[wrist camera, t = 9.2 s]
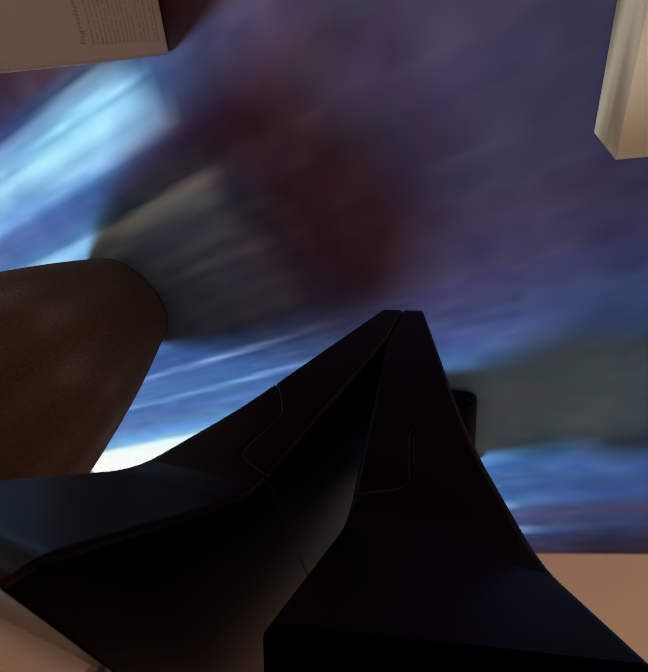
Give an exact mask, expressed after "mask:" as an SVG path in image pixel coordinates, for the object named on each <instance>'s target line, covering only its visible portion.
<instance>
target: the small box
mask: <svg viewBox="0 0 648 672" xmlns="http://www.w3.org/2000/svg"><path fill="white" fill-rule="evenodd" d="M167 53H168V48H167V43H166V38H165V33H164V28H163V23H162V17H161V12H160V7H159V2H158V0H0V73H8V72H16V71H27V70H36V69H46V68H58V67H66V66H76V65H85V64H93V63H102V62H111V61H119V60H128V59H136V58H143V57H151V56H159V55H165V54H167Z"/></svg>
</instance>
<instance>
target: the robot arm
mask: <svg viewBox="0 0 648 672" xmlns="http://www.w3.org/2000/svg"><path fill="white" fill-rule="evenodd" d="M466 399H468V400H471V401H467V400H466ZM476 408H477V397H476V395H475V394H473V393H471V392H465V391H455V390H451V388H450V385H449V382H448V380H447V377H446V374H445V371H444V368H443V366H442V363H441V360H440V357H439V355H438V352H437V349H436V346H435V344H434V341H433V338H432V335H431V333H430V330H429V327H428V324H427V321H426V319H425V316H424V313H423V312H422V311H409V310H406V311H403V313H402V311H400V310H383V311H381V312H380V313H378V314H377V315H376V316H374V317H373V318H371V319H370V320H368V321H367V322H365V323H364V324H363V325H361V326H360V327H358V328H357V329H355V330H354V331H352V332H351V333H350V334H348V335H347V336H345V337H344V338H342V339H341V340H339V341H338V342H337V343H335V344H334V345H332V346H331V347H329V348H328V349H326V350H325V351H324V352H322V353H321V354H319V355H318V356H316V357H315V358H313V359H312V360H310V361H309V362H308V363H306V364H305V365H303V366H302V367H300V368H299V369H297V370H296V371H295V372H293V373H292V374H290V375H289V376H287V377H286V378H284V379H283V380H282V381H280V382H279V383H277V386H273V387H271V388H270V389H268V390H267V391H265V392H264V393H263V394H261V395H260V396H258V397H257V398H255V399H254V400H252V401H251V402H249V403H248V404H246V405H244V406H243V407H241V408H240V409H238V410H237V411H235V412H233V413H232V414H230V415H228V416H227V417H225V418H223V419H222V420H220V421H218V422H217V423H215V424H213V425H211V426H210V427H208V428H206V429H204V430H203V431H201V432H199V433H198V434H196V435H194V436H192V437H191V438H189V439H187V440H185V441H184V442H182V443H180V444H179V445H177V446H175V447H173V448H172V449H170V450H168V451H166V452H165V453H163V454H161V455H159V456H157V457H156V458H154V459H152V460H150V461H147V462H145V463H143V464H140V465H137V466H134V467H131V468H127V469H122V470H117V471H110V472H98V473H86V474H74V475H62V476H50V477H38V478H26V479H14V480H2V481H0V672H648V663H646V662H645V661H644V660H643V659H642V658H641V657H640V656H639V655H638V654H637V653H636V652H634V651H633V650H632V649H631V648H630V647H629V646H628V645H627V644H626V643H625V642H624V641H622V640H621V639H620V638H619V637H618V636H617V635H616V634H615V633H614V632H613V631H612V630H610V629H609V628H608V627H607V626H606V625H605V624H604V623H603V622H602V621H601V620H599V619H598V618H597V617H596V616H595V615H594V614H593V613H592V612H591V611H590V610H589V609H588V608H586V607H585V606H584V605H583V604H582V603H581V602H580V601H579V600H578V599H577V598H576V597H574V596H573V595H572V594H571V593H570V592H569V591H568V590H567V589H566V588H565V587H564V586H563V585H561V584H560V583H559V582H558V581H557V580H556V579H555V578H554V577H553V576H552V574H551V573H550V572H549V571H548V570H547V569H546V568H545V566H544V565H543V564H542V562H541V561H540V560H539V558H538V557H537V555H536V554H535V552H534V551H533V549H532V548H531V546H530V545H529V543H528V541H527V540H526V538H525V537H524V535H523V533H522V532H521V530H520V528H519V526H518V525H517V523H516V521H515V519H514V518H513V516H512V514H511V512H510V511H509V509H508V507H507V505H506V504H505V502H504V500H503V498H502V497H501V495H500V493H499V491H498V490H497V488H496V486H495V484H494V483H493V481H492V479H491V477H490V476H489V474H488V472H487V470H486V469H485V467H484V465H483V463H482V461H481V459H480V457H479V455H478V453H477V451H476V450H475V432H476Z"/></svg>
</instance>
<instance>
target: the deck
mask: <svg viewBox="0 0 648 672" xmlns="http://www.w3.org/2000/svg"><path fill="white" fill-rule="evenodd" d="M594 133H595V134H596V135H597V137H598V138H599V139H600V140H601V142H602V143H603V144H604V145H605V147H606V148H607V149H608V150H609V152H610V153H611V154H612V156H613V157H614V158H615V159H616V160H617V159H627V158H638V157H648V0H617V5H616V11H615V17H614V23H613V28H612V34H611V40H610V45H609V51H608V57H607V63H606V68H605V74H604V80H603V85H602V91H601V97H600V103H599V108H598V114H597V120H596V125H595V131H594Z"/></svg>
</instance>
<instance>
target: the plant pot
mask: <svg viewBox="0 0 648 672" xmlns="http://www.w3.org/2000/svg"><path fill="white" fill-rule="evenodd" d="M166 329H167V318H166V313H165V310H164V307H163V305H162V303H161V301H160V299H159V297H158V296H157V294H156V293H155V291H154V290H153V289H152V287H151V286H150V285H149V284H148V283H147V282H146V281H145V280H144V279H143V278H142V277H141V276H140V275H139V274H137V273H136V272H135V271H133V270H132V269H130V268H129V267H127V266H126V265H124V264H121V263H119V262H117V261H114V260H110V259H88V260H78V261H69V262H60V263H52V264H45V265H39V266H32V267H25V268H20V269H14V270H8V271H3V272H0V481H2V480H14V479H26V478H38V477H50V476H62V475H74V474H86V473H90V471H91V470H92V468H93V467H94V465H95V464H96V462H97V461H98V459H99V458H100V456H101V454H102V453H103V451H104V450H105V448H106V447H107V445H108V443H109V442H110V440H111V438H112V437H113V435H114V433H115V432H116V430H117V428H118V427H119V425H120V423H121V422H122V420H123V418H124V416H125V415H126V413H127V411H128V409H129V408H130V406H131V404H132V402H133V400H134V399H135V397H136V395H137V393H138V391H139V389H140V387H141V385H142V383H143V381H144V379H145V377H146V375H147V373H148V371H149V369H150V367H151V365H152V362H153V360H154V358H155V356H156V354H157V351H158V349H159V347H160V344H161V342H162V339H163V337H164V334H165V332H166Z"/></svg>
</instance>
